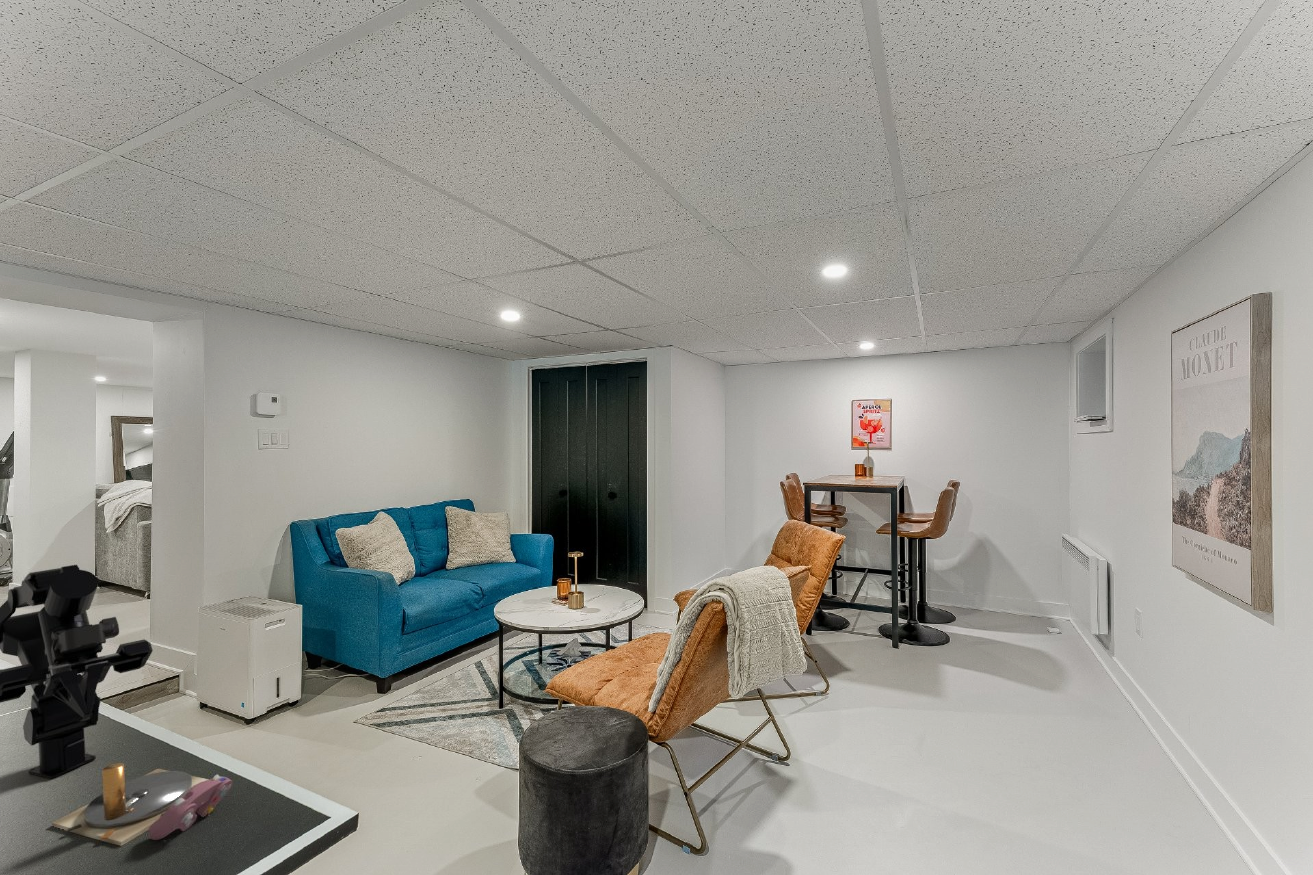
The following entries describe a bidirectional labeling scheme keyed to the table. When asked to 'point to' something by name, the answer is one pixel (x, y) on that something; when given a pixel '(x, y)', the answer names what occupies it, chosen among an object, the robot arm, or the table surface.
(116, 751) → the table surface
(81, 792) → the table surface
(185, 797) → the video game controller
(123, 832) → the panel
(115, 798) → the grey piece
